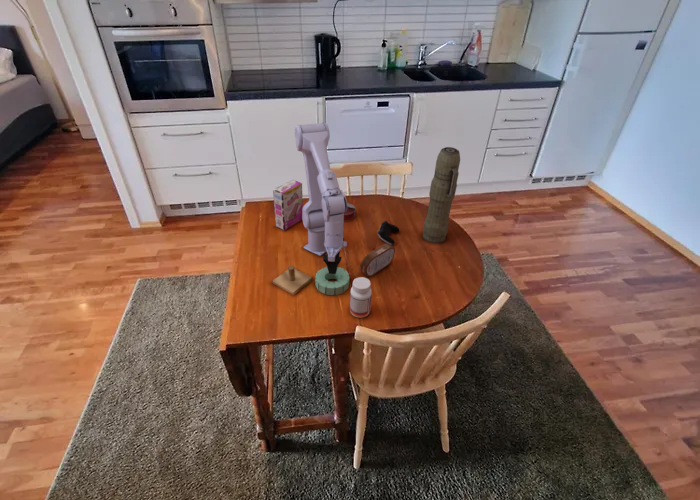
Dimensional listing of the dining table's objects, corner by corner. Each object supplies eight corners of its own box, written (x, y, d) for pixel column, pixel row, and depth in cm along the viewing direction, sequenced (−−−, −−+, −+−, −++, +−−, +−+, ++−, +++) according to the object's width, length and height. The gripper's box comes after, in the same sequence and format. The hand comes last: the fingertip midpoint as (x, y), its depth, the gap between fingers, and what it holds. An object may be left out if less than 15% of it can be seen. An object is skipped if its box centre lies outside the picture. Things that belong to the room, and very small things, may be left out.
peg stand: (291, 269, 133) (290, 255, 130) (311, 280, 129) (311, 265, 126) (272, 283, 127) (270, 269, 123) (293, 295, 123) (292, 280, 119)
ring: (329, 269, 134) (329, 262, 132) (355, 281, 129) (355, 274, 127) (308, 286, 127) (308, 278, 125) (335, 300, 122) (336, 292, 120)
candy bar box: (284, 231, 151) (281, 193, 142) (275, 227, 154) (271, 189, 144) (304, 219, 159) (302, 182, 149) (294, 215, 161) (292, 178, 151)
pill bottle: (359, 300, 122) (360, 272, 115) (374, 311, 119) (377, 282, 112) (345, 311, 118) (346, 282, 111) (360, 321, 115) (362, 293, 108)
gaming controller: (392, 234, 156) (380, 221, 154) (400, 229, 153) (389, 216, 151) (386, 250, 147) (374, 236, 145) (395, 244, 145) (383, 230, 143)
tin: (388, 258, 140) (390, 238, 135) (395, 262, 138) (397, 242, 133) (358, 277, 131) (359, 256, 126) (365, 281, 129) (367, 261, 124)
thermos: (434, 226, 157) (450, 141, 137) (452, 242, 149) (472, 154, 128) (415, 231, 154) (428, 145, 133) (433, 247, 146) (450, 158, 125)
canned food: (332, 221, 167) (329, 197, 165) (355, 218, 167) (352, 194, 166) (332, 223, 156) (329, 198, 154) (357, 220, 156) (354, 194, 155)
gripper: (345, 245, 114) (344, 281, 122) (349, 219, 126) (348, 253, 134) (320, 243, 115) (321, 279, 123) (327, 217, 126) (327, 251, 134)
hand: (333, 265), depth 128 cm, fingers open, 7 cm apart
